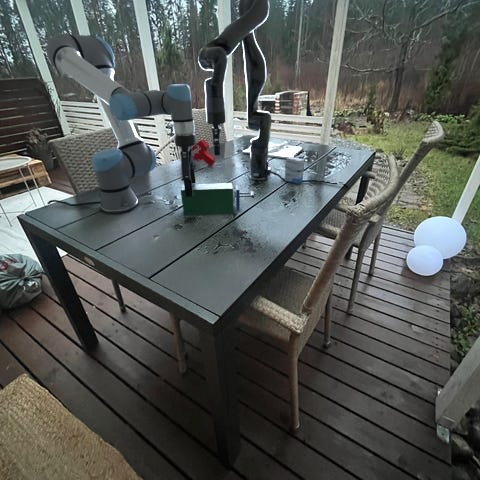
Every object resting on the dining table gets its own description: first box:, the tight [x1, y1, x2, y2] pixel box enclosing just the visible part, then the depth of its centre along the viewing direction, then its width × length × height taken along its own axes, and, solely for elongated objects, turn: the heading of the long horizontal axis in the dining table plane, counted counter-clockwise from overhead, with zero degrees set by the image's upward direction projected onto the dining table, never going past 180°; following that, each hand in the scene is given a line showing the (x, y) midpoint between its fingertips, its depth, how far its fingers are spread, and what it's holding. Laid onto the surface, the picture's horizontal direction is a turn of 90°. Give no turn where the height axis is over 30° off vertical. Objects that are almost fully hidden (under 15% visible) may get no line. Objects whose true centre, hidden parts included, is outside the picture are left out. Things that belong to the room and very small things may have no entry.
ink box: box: [284, 156, 306, 185], centre depth 140 cm, size 8×5×12 cm, turn 47°
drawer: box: [235, 185, 255, 212], centre depth 112 cm, size 25×5×9 cm, turn 94°
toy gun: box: [191, 138, 216, 167], centre depth 167 cm, size 18×4×15 cm
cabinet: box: [180, 182, 234, 216], centre depth 112 cm, size 20×6×11 cm, turn 94°
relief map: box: [242, 138, 304, 160], centre depth 192 cm, size 27×35×5 cm
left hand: (191, 189), depth 109 cm, fingers open, 13 cm apart
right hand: (217, 152), depth 114 cm, fingers open, 8 cm apart
